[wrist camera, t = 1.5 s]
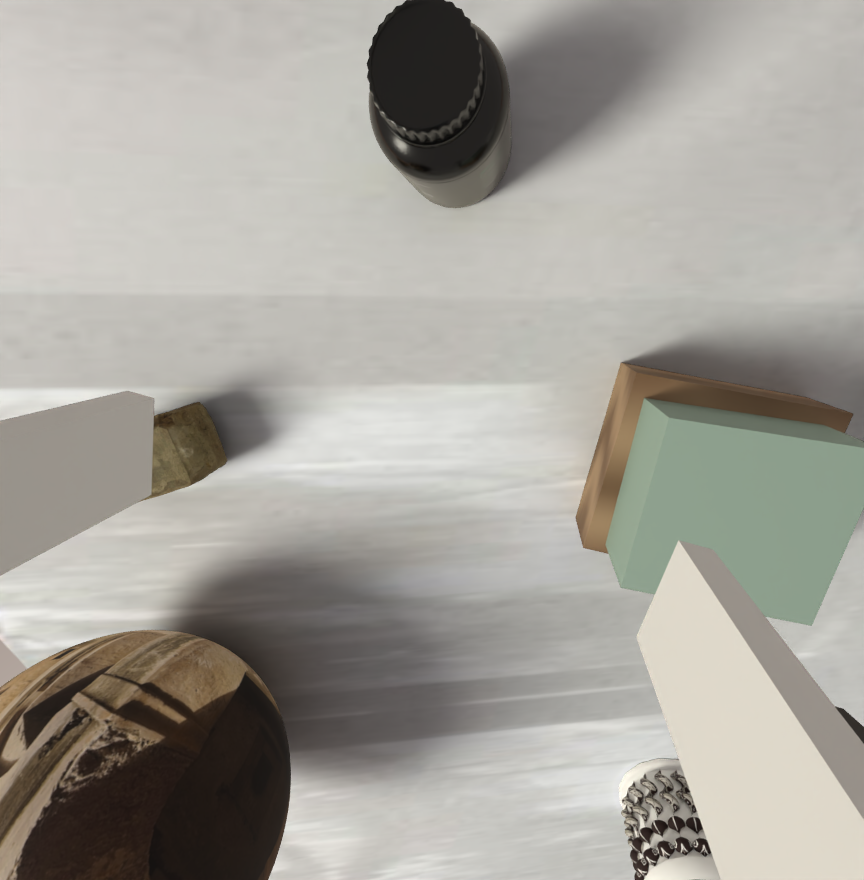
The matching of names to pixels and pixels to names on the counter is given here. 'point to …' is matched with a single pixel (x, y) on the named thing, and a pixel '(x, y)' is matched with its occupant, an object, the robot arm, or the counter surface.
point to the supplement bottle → (440, 102)
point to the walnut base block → (677, 389)
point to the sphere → (141, 764)
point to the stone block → (184, 449)
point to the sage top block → (739, 502)
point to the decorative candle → (664, 824)
